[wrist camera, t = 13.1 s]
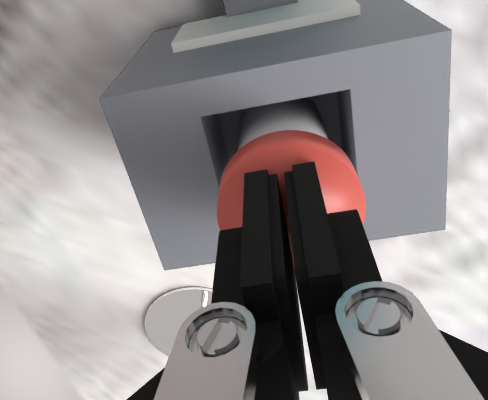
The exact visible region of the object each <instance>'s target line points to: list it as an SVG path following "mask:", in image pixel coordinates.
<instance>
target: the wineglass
mask: <svg viewBox="0 0 488 400" xmlns="http://www.w3.org/2000/svg"><path fill="white" fill-rule="evenodd" d="M212 291H213V289H208V288H202V287H186V288H180V289H176V290H172V291H170V292H167V293H165V294H163V295H162V296H160V297H159V298H157V299H156V300H155V301H154V302H153V303H152V304H151V306H150V307H149V309H148V311H147V313H146V316H145V331H146V334H147V336H148V338H149V340H150V341H151V343H152V344H153V345H154V346H155V347H156V348H157V349H158V350H160V351H161V352H162V353H164V354H165V355H167V356H169V355H170V353H171V350H172V347H173V344H174V342H175V339H176V336H177V333H178V331H179V329H180V327H181V325H182V324H183V322H184V321H185V320H186V319H187V318H188V317H189V316H190V315H191V314H192V313H194V312H195V311H197V310H198V309H200V308H201V307H204V306H207V305H209V304H211V300H212Z"/></svg>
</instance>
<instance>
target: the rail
mask: <svg viewBox="0 0 488 400" xmlns="http://www.w3.org/2000/svg"><path fill="white" fill-rule="evenodd" d="M223 2H224V7H225V12H226V17H231V16H235V15H240V14H245V13H250V12H254V11H259V10H264V9H269V8H273V7H278V6H283V5H288V4H292V3H297V2H298V0H223Z"/></svg>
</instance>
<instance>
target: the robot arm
mask: <svg viewBox="0 0 488 400" xmlns="http://www.w3.org/2000/svg"><path fill="white" fill-rule="evenodd" d="M292 170H293V171H289V172H284V180H285V188H286V197H287V206H288V215H289V224H290V233H291V242H292V251H293V257H292V252H291V246H290V241H289V236H288V230H287V225H286V220H285V214H284V209H283V204H282V198H281V193H280V188H279V182H278V177H277V174H272V175H268V171H267V169H265V170H260V171H254V172H248V173H244V194H243V220H242V227H238V228H231V229H225V230H220V231H219V236H218V246H217V255H216V264H215V273H214V282H213V291H212V300H211V304H209V305H207V306H204V307H201V308H200V309H198V310H197V311H195V312H194V313H192V314H191V315H190V316H189V317H188V318H187V319H186V320H185V321H184V322H183V324H182V325H181V327H180V329H179V331H178V333H177V336H176V339H175V342H174V344H173V347H172V350H171V353H170V355H169V358H168V361H167V364H166V367H165V368H164V369H163V370H161V371H160V372H159V373H158V374H157V375H155V376H154V377H153V378H152V379H151V380H149V381H148V382H147V383H146V384H145V385H144V386H142V387H141V388H140V389H139V390H138V391H136V392H135V393H134V394H133V395H132V396H131V397H129V398H128V399H127V400H299V391H308V383H307V374H306V365H305V356H304V347H303V338H302V329H301V321H300V312H299V303H298V294H299V300H300V305H301V310H302V315H303V321H304V326H305V331H306V337H307V342H308V347H309V352H310V358H311V363H312V368H313V374H314V379H315V384H316V389H326V388H327V394H328V399H329V400H488V352H486V351H483V350H481V349H479V348H477V347H475V346H473V345H471V344H468V343H466V342H464V341H462V340H460V339H458V338H456V337H454V336H451V335H449V334H447V333H445V332H443V331H441V330H439V329H438V328H437V327H436V325H435V324H434V322H433V321H432V319H431V318H430V316H429V315H428V313H427V312H426V310H425V309H424V307H423V306H422V304H421V303H420V301H419V300H418V299H417V298H416V297H415V296H414V294H413V293H412V292H410V291H409V290H407V289H405V288H403V287H402V286H399V285H396V284H393V283H389V282H382V279H381V276H380V273H379V271H378V268H377V265H376V262H375V259H374V256H373V253H372V250H371V247H370V244H369V242H368V239H367V236H366V233H365V230H364V227H363V224H362V221H361V218H360V215H359V213H358V210H357V209H354V210H348V211H341V212H335V213H328V214H327V211H326V207H325V203H324V199H323V195H322V191H321V186H320V182H319V178H318V174H317V170H316V166H315V162H314V161H313V162H307V163H301V164H295V165H292ZM293 259H294V263H293ZM294 268H295V269H294ZM296 282H297V285H296ZM297 289H298V294H297Z"/></svg>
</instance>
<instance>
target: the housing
mask: <svg viewBox="0 0 488 400" xmlns="http://www.w3.org/2000/svg"><path fill="white" fill-rule="evenodd" d="M451 34H452V30H451V29H449V28H448V27H446V26H444V25H443V24H441V23H439V22H438V21H436V20H435V19H433V18H431V17H430V16H428V15H426V14H425V13H423V12H422V11H420V10H418V9H417V8H415V7H413V6H412V5H410V4H409V3H407V2H405V1H404V0H298V2H297V3H292V4H288V5H283V6H278V7H273V8H269V9H264V10H259V11H254V12H250V13H245V14H240V15H235V16H231V17H226V15H224V16H219V17H214V18H209V19H205V20H200V21H195V22H190V23H186V24H183V25H182V26H177V27H173V28H168V29H163V30H159V31H154V33H153V34H152V35H151V36H150V38H149V39H148V40H147V41H146V42H145V44H144V45H143V46H142V47H141V49H140V50H139V51H138V52H137V53H136V55H135V56H134V57H133V58H132V60H131V61H130V62H129V63H128V64H127V66H126V67H125V68H124V69H123V71H122V72H121V73H120V74H119V75H118V77H117V78H116V79H115V80H114V82H113V83H112V84H111V85H110V86H109V88H108V89H107V90H106V91H105V93H104V94H103V95H102V96H101V97H100V102H101V105H102V107H103V110H104V113H105V115H106V118H107V120H108V123H109V126H110V128H111V131H112V134H113V136H114V139H115V142H116V144H117V147H118V149H119V152H120V155H121V157H122V160H123V163H124V165H125V168H126V171H127V173H128V176H129V178H130V181H131V184H132V186H133V189H134V192H135V194H136V197H137V200H138V202H139V205H140V207H141V210H142V213H143V215H144V218H145V221H146V223H147V226H148V228H149V231H150V234H151V236H152V239H153V242H154V244H155V247H156V250H157V252H158V255H159V257H160V260H161V263H162V265H163V268H164V270H170V269H177V268H184V267H191V266H198V265H205V264H211V263H216V255H217V246H218V236H219V231H220V229H219V226H218V221H217V204H218V196H219V188H220V181H221V177H222V174H223V172H224V169H225V167H226V165H227V164H228V162H229V161H230V159H231V158H232V157H233V155H234V154H235V153H236V152H237V151H238V137H239V126H240V121H241V118H242V116H243V114H244V112H245V110H246V109H247V108H251V107H257V106H262V105H267V104H273V103H278V102H284V101H289V100H294V99H300V98H305V97H306V98H307V99H308V100H310V101H311V102H312V103H313V104H314V105H315V106H316V108H317V109H318V111H319V113H320V115H321V118H322V121H323V124H324V127H325V130H326V133H327V137H328V140H330V141H332V142H333V143H335V144H336V145H337V146H339V147H340V148H341V149H342V150H343V151H344V152H345V153H346V155H347V156H348V157H349V159H350V160H351V162H352V164H353V166H354V168H355V171H356V173H357V176H358V179H359V181H360V184H361V186H362V189H363V192H364V195H365V201H366V214H365V220H364V223H363V227H364V230H365V233H366V236H367V239H368V241H370V240H377V239H383V238H390V237H397V236H404V235H411V234H418V233H425V232H432V231H438V230H445V223H446V191H447V160H448V128H449V97H450V65H451Z"/></svg>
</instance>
